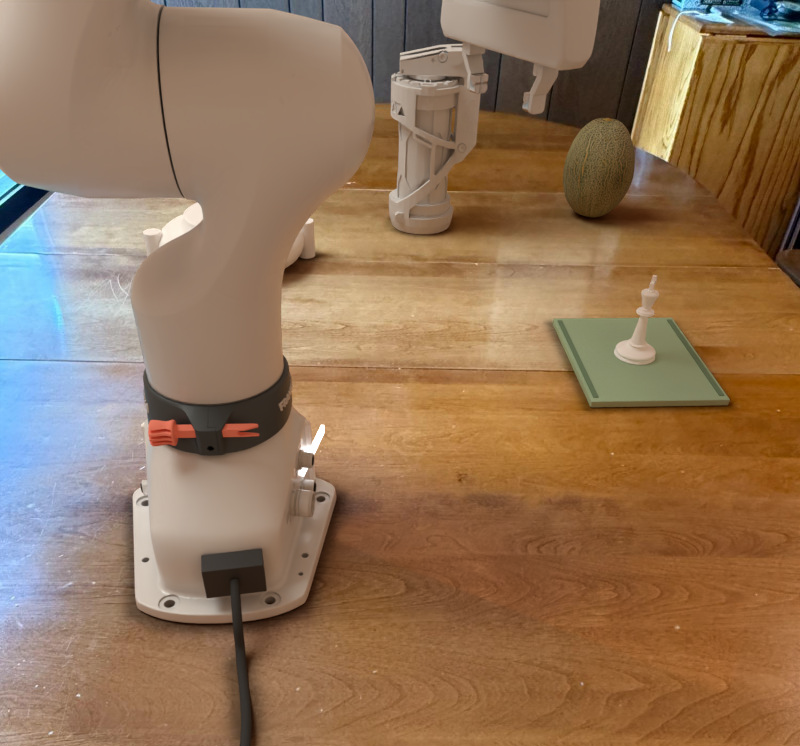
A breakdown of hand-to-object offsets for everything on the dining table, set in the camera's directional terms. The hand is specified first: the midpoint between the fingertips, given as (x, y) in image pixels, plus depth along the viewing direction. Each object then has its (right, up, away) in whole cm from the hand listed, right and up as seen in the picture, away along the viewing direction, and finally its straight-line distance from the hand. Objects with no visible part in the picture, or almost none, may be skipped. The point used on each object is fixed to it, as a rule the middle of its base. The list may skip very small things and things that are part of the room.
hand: (503, 102), depth 82 cm
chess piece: (+18, -24, +12) cm, 32 cm away
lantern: (-6, +5, +44) cm, 45 cm away
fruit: (+21, +8, +49) cm, 54 cm away
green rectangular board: (+18, -25, +12) cm, 33 cm away
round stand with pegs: (-35, -6, +31) cm, 47 cm away
